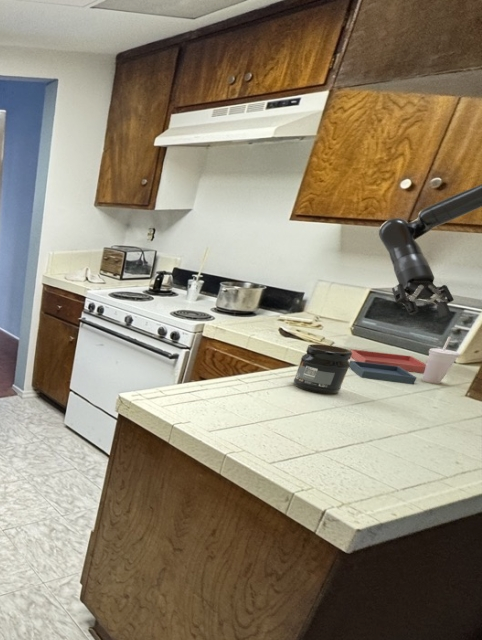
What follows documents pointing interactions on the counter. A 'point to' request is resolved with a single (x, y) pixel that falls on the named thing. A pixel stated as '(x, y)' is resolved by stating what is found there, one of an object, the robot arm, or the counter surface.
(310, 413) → the counter surface
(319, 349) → the supplement container
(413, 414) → the counter surface
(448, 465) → the counter surface
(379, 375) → the slate tray
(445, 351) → the smoothie
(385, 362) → the rose tray
